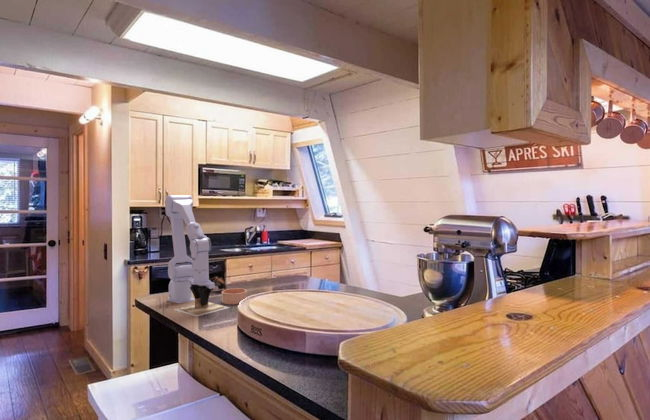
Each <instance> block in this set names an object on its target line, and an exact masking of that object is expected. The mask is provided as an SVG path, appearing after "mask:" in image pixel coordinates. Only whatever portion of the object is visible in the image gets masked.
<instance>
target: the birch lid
mask: <svg viewBox="0 0 650 420" xmlns="http://www.w3.org/2000/svg"><path fill="white" fill-rule="evenodd" d="M194 299H195V298H194ZM178 308H179V310H183V311H186V312H189V313H193V314H196V315H199V314H203V313H207V312H210V311H214V310H218V309H222V308H224V305H222V306H221V304H218V305H217V303H214V302H209V301H208V303H207V305H205V306H202V305H201V299H200V298H197V299H195V300H194V303H193V304H189V305H185V306H181V307H178Z"/></svg>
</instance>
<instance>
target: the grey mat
mask: <svg viewBox="0 0 650 420" xmlns="http://www.w3.org/2000/svg"><path fill="white" fill-rule="evenodd" d="M216 304H217V303H216ZM217 305H219V303H218V304H217ZM220 305H221V304H220ZM221 306H224V305H221ZM179 308H180V307H177V308H174V309H173V311H176V312H179V313H183V314H186V315H190V316H191V317H192V316H193V317H200V316H203V315H208V314H211V313H215V312H219V311H222V310H223V311H224V310H226V309H230V306H229V307H228V306H224V308H222V309H218V310H214V311H210V312H207V313H203V314H199V315H196V314H193V313H189V312H186V311H183V310H179Z"/></svg>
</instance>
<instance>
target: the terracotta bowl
mask: <svg viewBox="0 0 650 420" xmlns="http://www.w3.org/2000/svg"><path fill="white" fill-rule="evenodd" d="M246 297H247V298H248V290H247V289H245V288H241V287H240V288H238V287H237V288H227V290H224V289H222V290H221V303H222V304H225V305H239V304H238V303H239V302H240V301H241V300H243V299H245V298H246Z"/></svg>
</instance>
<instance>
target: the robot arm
mask: <svg viewBox="0 0 650 420" xmlns="http://www.w3.org/2000/svg"><path fill="white" fill-rule="evenodd" d="M164 207H165V208H164V209H165V214H166V216H167V217H169V220H170V227H171V237H172V246H173V255H174V256H173V258H171V259H170V260H169V261H168V265H167V266H168V267H167V275H168V279H170V281H169V283H168V299H166V300H167V302H172V303H176V304H182V303H183V304H184V303H187V302H192V301H195V299H197V298H200V299H201V305H202V306H205V305H207V303H208V302H209V299H210V296H211V293H212V291H213V290H214V289H215V288H216V286H215V283H213V282H211V281H210V275H209V274H210V272H209V270H210V268H209V266H210V264H209V263H210V261H209V253H210V252H211V250H212V242H211V239H210V237H209V236H208V237H207V235H205V234H204V231H203V229H202V226H201V224H200V223H198V222H196V218H195V216H194V212H193V207H194V199H193V197H192V195H191V194H185V195H184V194H181V195H180V194H176V195H175V194H174V195H173V194H172V195H171V194H168V195H167V196H166V197H165V201H164ZM184 223H185V225H186V226H184ZM184 227H185V229H184ZM185 231H186V234H187V237H188V240H189V250H190V256H191V257H190V256H189V255H188V254H187V253H188V252H187V244H186V237H185V236H186V234H185ZM212 289H213V290H212ZM192 294H193V297H192Z"/></svg>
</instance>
